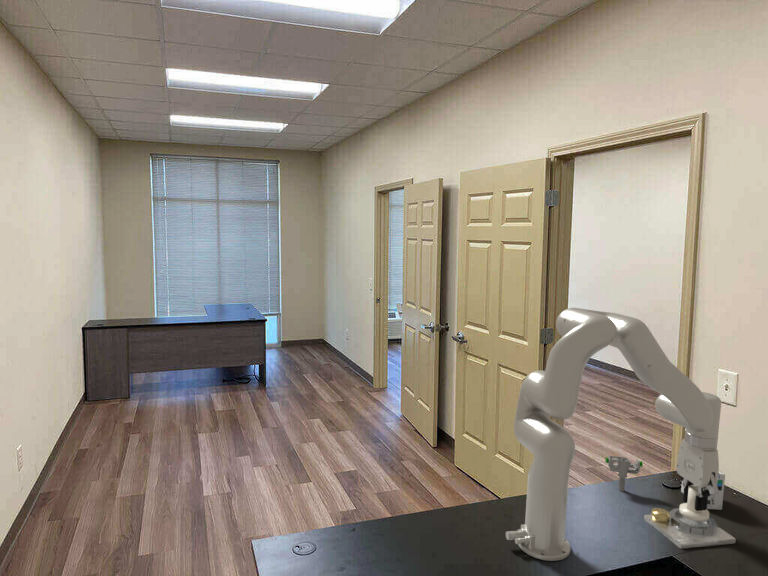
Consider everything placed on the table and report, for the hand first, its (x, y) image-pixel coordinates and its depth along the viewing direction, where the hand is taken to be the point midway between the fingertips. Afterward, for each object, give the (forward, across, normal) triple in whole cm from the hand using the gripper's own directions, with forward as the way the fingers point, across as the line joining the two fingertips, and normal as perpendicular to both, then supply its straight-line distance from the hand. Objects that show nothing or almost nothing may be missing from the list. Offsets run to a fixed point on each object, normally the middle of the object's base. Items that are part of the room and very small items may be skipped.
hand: (694, 505), depth 148 cm
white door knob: (+3, 0, 0) cm, 3 cm away
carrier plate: (+6, +2, -3) cm, 7 cm away
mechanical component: (+6, -22, -7) cm, 23 cm away
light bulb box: (+7, -12, +13) cm, 19 cm away
